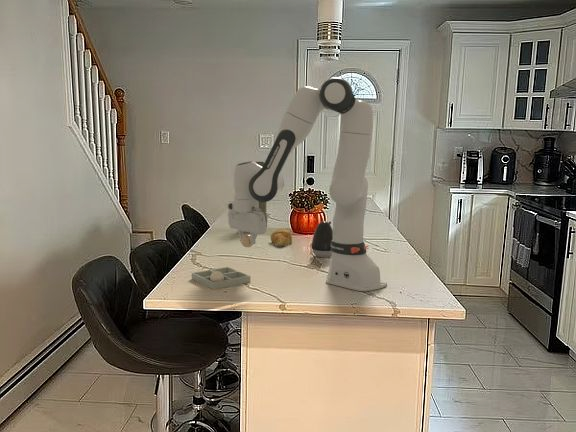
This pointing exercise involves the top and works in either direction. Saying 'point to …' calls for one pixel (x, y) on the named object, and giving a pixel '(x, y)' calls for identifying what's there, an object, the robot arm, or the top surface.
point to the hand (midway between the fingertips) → (247, 242)
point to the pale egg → (216, 276)
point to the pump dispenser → (322, 240)
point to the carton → (230, 278)
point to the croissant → (281, 237)
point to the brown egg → (246, 240)
